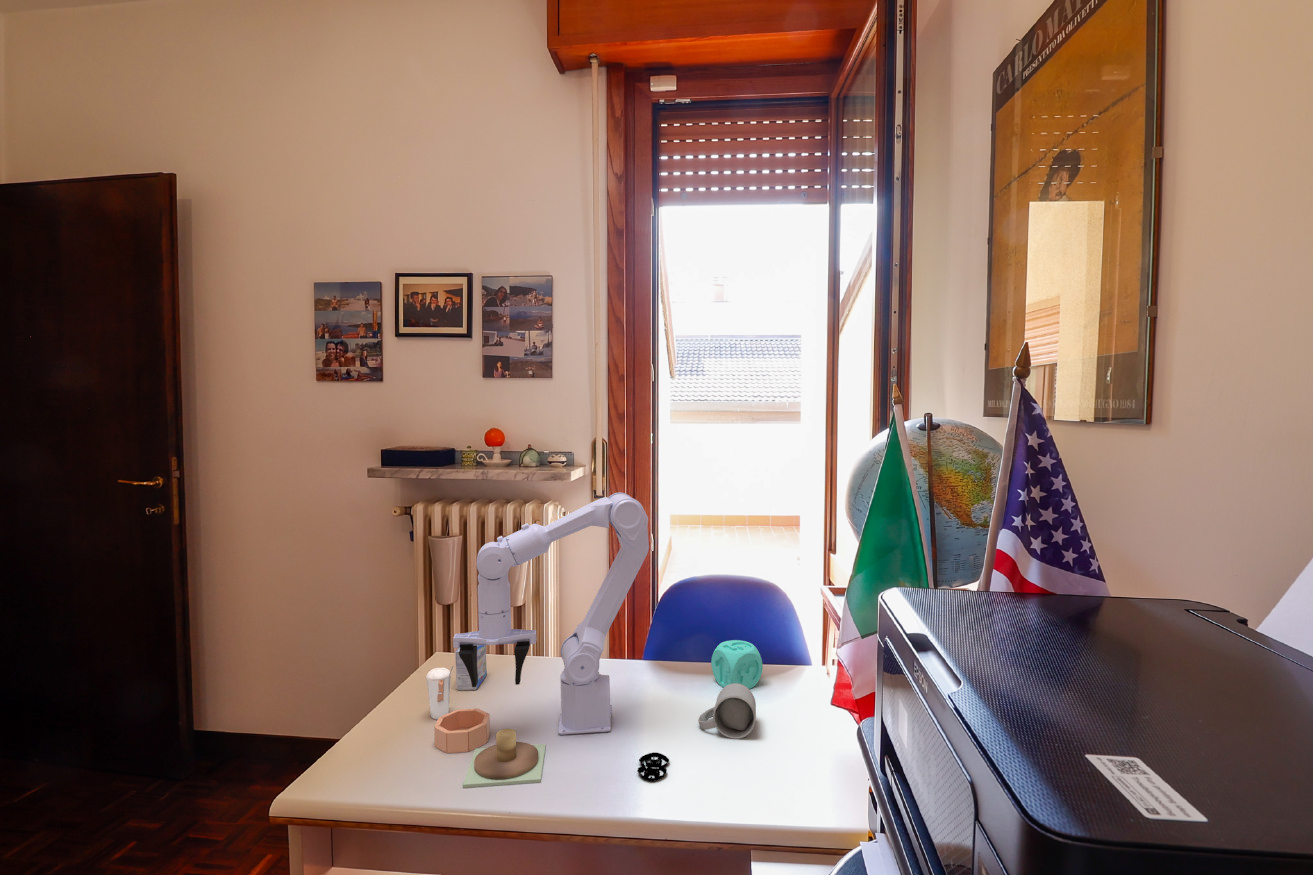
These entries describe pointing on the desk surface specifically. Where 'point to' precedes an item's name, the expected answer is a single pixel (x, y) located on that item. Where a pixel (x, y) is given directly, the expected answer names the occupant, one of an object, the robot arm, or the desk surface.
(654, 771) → the black flat openwork piece
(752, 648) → the decorative dice
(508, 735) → the walnut lid
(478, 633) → the robot arm
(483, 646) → the medicine box
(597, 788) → the desk surface
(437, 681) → the milkshake
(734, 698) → the ceramic mug
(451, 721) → the terracotta bowl
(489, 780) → the green mat
